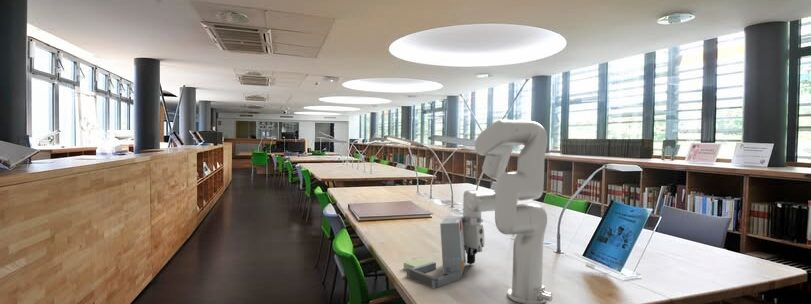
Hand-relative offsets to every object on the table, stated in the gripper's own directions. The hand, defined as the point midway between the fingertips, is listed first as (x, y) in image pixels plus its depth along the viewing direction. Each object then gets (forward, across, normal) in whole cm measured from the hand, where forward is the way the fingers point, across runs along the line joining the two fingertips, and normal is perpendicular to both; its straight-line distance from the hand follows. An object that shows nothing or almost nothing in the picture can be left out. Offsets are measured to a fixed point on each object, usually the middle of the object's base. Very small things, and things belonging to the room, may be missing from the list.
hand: (470, 263), depth 160 cm
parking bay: (+1, 0, +22) cm, 22 cm away
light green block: (+1, +11, +20) cm, 23 cm away
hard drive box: (+1, +1, +9) cm, 9 cm away
